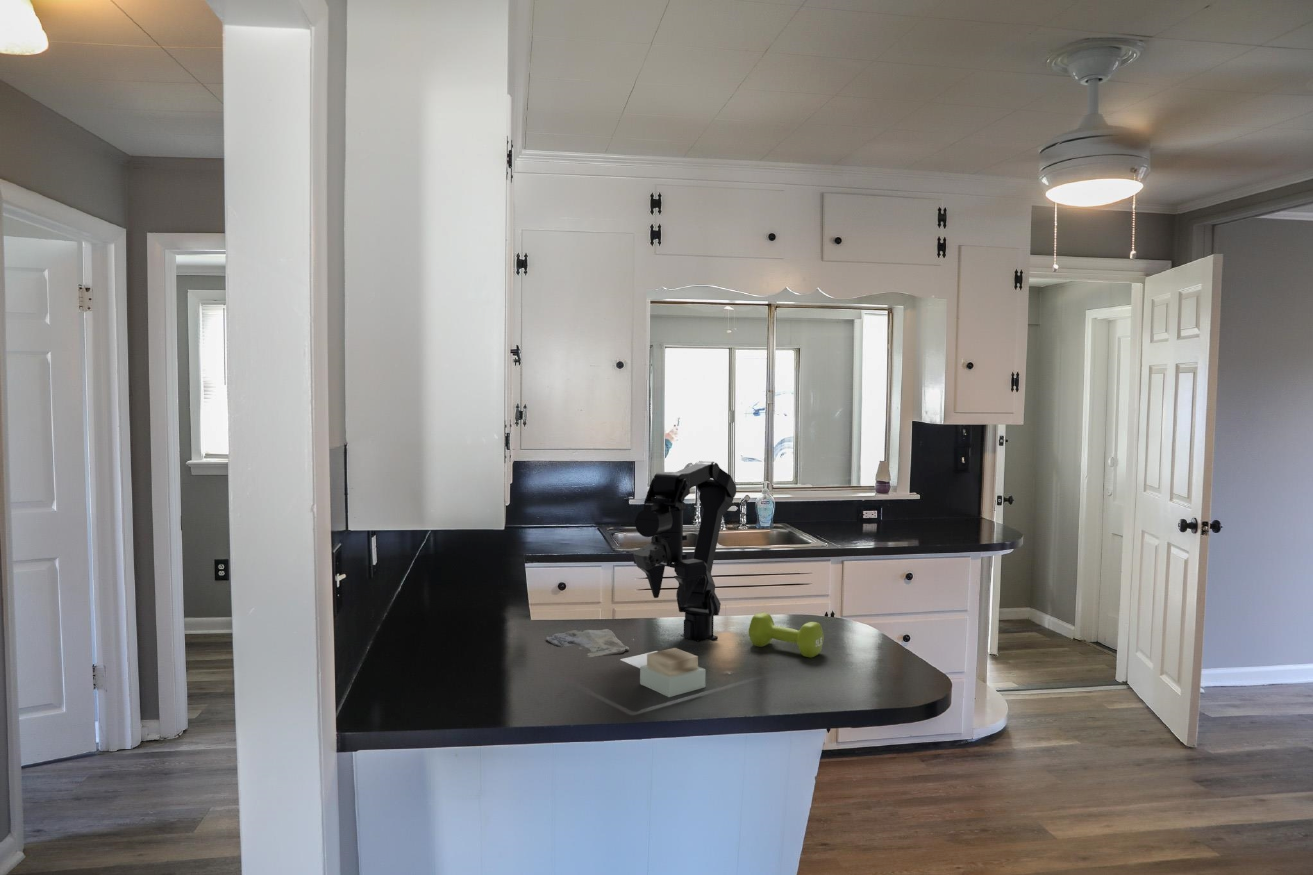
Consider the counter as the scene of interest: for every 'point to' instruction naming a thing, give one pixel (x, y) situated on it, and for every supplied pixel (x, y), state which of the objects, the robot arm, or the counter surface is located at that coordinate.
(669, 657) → the lid
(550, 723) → the counter surface
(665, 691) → the dish
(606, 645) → the crumpled grey cloth
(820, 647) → the dumbbell
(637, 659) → the mat
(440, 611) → the counter surface
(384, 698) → the counter surface
